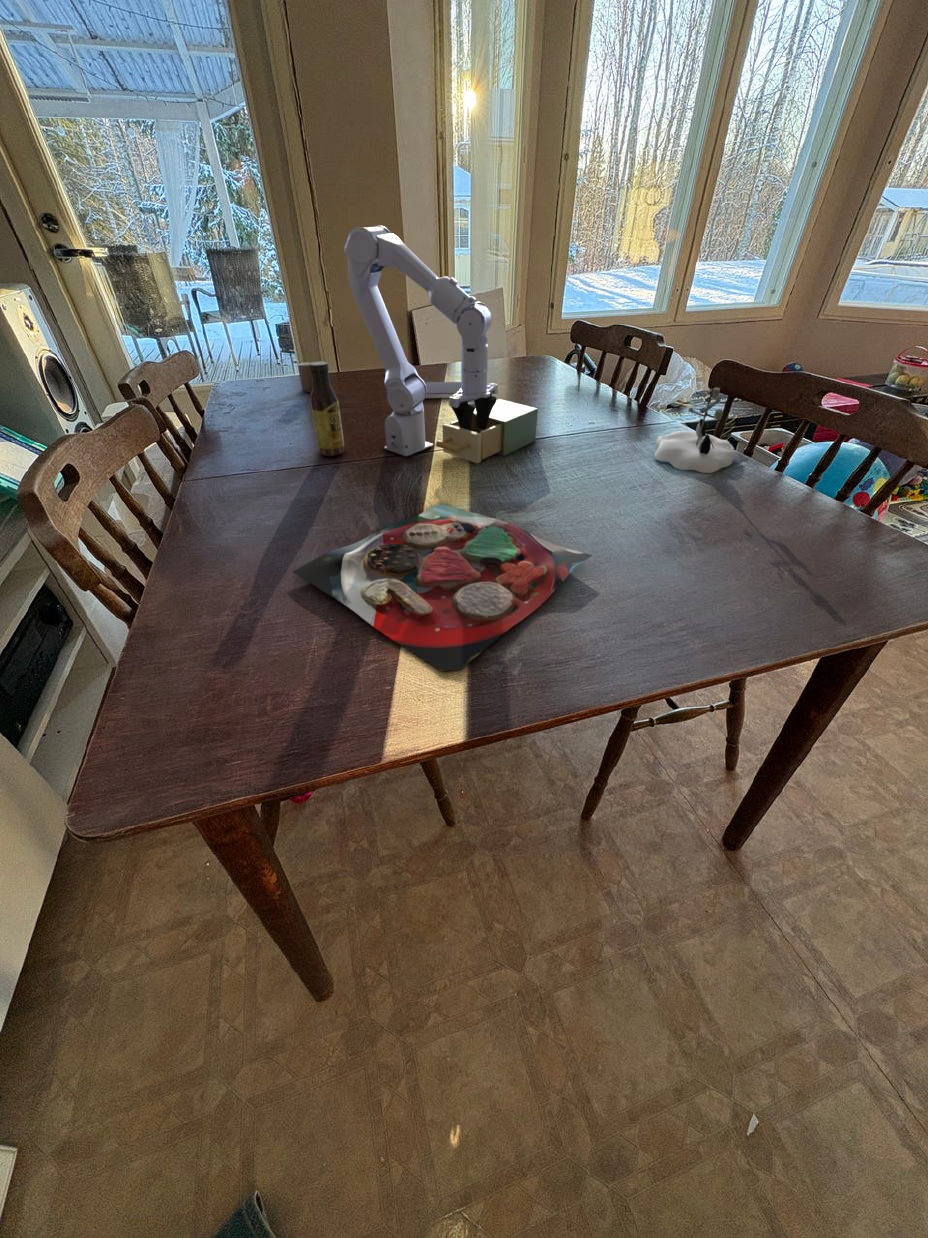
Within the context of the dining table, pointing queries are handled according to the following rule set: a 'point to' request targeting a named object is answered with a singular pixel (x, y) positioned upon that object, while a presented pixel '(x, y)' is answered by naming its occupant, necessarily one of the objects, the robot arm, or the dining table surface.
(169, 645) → the dining table surface
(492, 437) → the drawer
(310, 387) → the wooden block
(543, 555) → the platter
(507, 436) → the cabinet
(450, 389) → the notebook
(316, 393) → the sauce bottle
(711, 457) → the figurine
